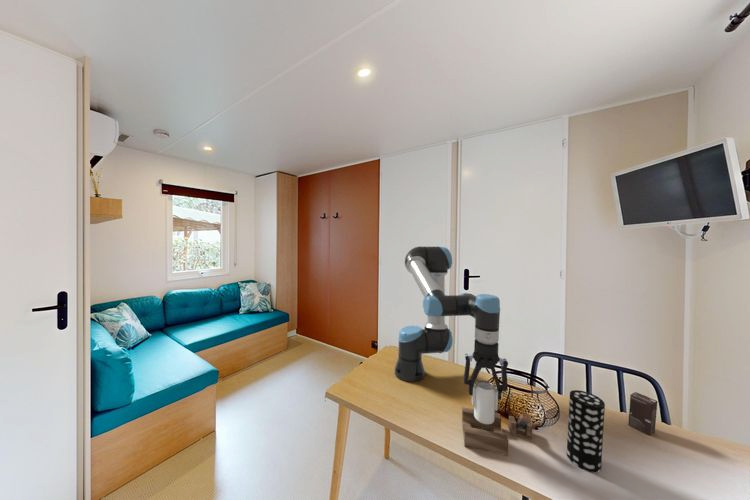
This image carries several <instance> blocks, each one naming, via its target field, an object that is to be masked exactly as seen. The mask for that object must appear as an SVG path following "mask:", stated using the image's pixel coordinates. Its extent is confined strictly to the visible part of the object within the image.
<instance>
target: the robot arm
mask: <svg viewBox="0 0 750 500" xmlns="http://www.w3.org/2000/svg"><path fill="white" fill-rule="evenodd" d="M452 265H453V257H452V253H451V251H450V250H449V249H448V248H447V247H445V246H415V247H413V248H411V249H410V250H409V251H408V252H407V253H406V255H405V258H404V266H405V268H406V270H407V272H408V273H410V274H411V275H412V277H413V279H414V281H415V282H416V285H417V286H418V288H419V291H420V292H421V294H422V295H423V300H422V308H423V312H424V314H425V315H426V316H427V321H426V323H425V324H424V328H422V326H419V325H408V326H404V327H401V328H400V330H399V332H398V353H397V354H398V357H397V361H396V364H395V366H394V375H395V377H396V378H398V379H399V380H402V381H404V382H410V383H412V382H413V383H414V382H419V381H422V380H423V379H424V378H425V373H426V372H425V371H426V370H425V368H424V364H423V361H422V358H423V357H422V355H424V354H443V353H447V352H449V351H450V350H451V348H452V346H453V333H452V331H451V329H450V328H449V327H448V325H447V324H446V323H445V322H446V320H445V319H446V317H453V316H454V317H456V316H457V317H458V316H460V317H461V316H470V317H472V318H474V323H475V325H474V345H473V346H474V347H473V348H474V351H473V353H472V354H469V353H465V354H464V359H465V366H464V371H463V372H464V373H463V384H464V385H467V386H468V394H469V396H471V405H472V407H473V408H474V407H475V385H476V384H475V383H476V382H477V378H478V376H479V373H480V372H481V370H482V369H485V368H486V369H489V370H491V374H492V377H493V380H494V383H495V386H496V387H495V386H494V390H495V412H498V406H499V403H498V402H499V401H501V399H502V393H503V391H508V388H509V387H508V372H507V371H508V370H507V368H508V366H509V362H508V361H507V360H508V359H506V358H502V357H500V356H499V345H500V344H499V339H500V336H499V335H500V314H501V307H500V306H501V305H500V304H501V303H500V298H499V297H498V296H497V295H493V294H489V293H488V294H487V293H479V294H477V295H474V294H472V293H467V292H464V293H461V294H458V295H456V294H455V295H453V294H452V295H450V294H449V295H446V294H445V291H446V289H445V285H446V284H445V283H446V282H445V276H446V275H447V274H448V272H449V271H448V270H450V269H451V268H452ZM473 359H474V361H475V366H474V368H473V371H472V372H471V375H470V367H471V362H472V361H473ZM498 363H499V365H500V372H501V383H500V381H499V376H498V373H497V371H496V368H495V366H496V365H497V364H498ZM493 366H494V367H493Z"/></svg>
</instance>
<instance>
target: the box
mask: <svg viewBox="0 0 750 500" xmlns="http://www.w3.org/2000/svg"><path fill="white" fill-rule="evenodd" d="M629 399H630V400H629V411H628V412H629V413H628V422H627V423H628V424H627V425H628V426H630V427H632V428H634V429H636V430H639V431H641V432H642V433H644V434H646V435H647V436H649V437H651V436H652V435H653V434H654V433H656V421H657V410H658V400H656V399H653V398H652V397H649V396H647V395H644V394H641V393H639V392H637V391H635V392H632V393H631V394H630V397H629Z"/></svg>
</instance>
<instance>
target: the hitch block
mask: <svg viewBox="0 0 750 500" xmlns="http://www.w3.org/2000/svg"><path fill="white" fill-rule="evenodd" d="M516 422H517V421H516V419H515V416H513V415H508V424H507V425H508V430H509V433H510V436H515V437H519V438H523V439H524V438H525V439H529V440H532V439H533V425H532V422H531V421H530V422H529V423H528V424H527V425H526V427H525V430H523V429H518V428H516ZM461 423H462V424H461V425H462V435H463V443H464V448H465V447H466V448H469V449H473V450H474V449H475V450H479V451H482V452H483V451H484V452H488V453H492V454H498V455H502V456H506V457H508V456H509V443H510V442H509V438H508V435H507V434H505V433H504V432H503V429H502V417H501V413H498V412H495V414H494V422H493V423H492V424H489V425H486V424H482V423H480V422H478V421H477V420H476V418H475V417H474V408H470V407H464V406H462V407H461Z"/></svg>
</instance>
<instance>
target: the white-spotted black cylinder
mask: <svg viewBox="0 0 750 500" xmlns="http://www.w3.org/2000/svg"><path fill="white" fill-rule="evenodd" d="M568 402H569V403H568V419H567V420H568V423H567V424H568V425H567V440H566V441H567V443H566V456H567V458H568V459H569V460H570V462H571V463H572V464H574V465H575V466H577V467H578V468H580V469H581V470H584V471H585V472H588V473H589V472H590V473H594V472H596V473H599V472H598V471H600V470H602V461H603V459H602V458H603V457H602V456H603V442H604V440H603V439H604V428H605V427H604V426H605V410H606V408H605V407H606V403H605V401H604V400H603V399H601V398H600V397H599V396H597V395H595V394H592V393H590V392H588V391H583V390H577V389H575V390H570V392H569V401H568ZM600 472H601V471H600Z"/></svg>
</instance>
